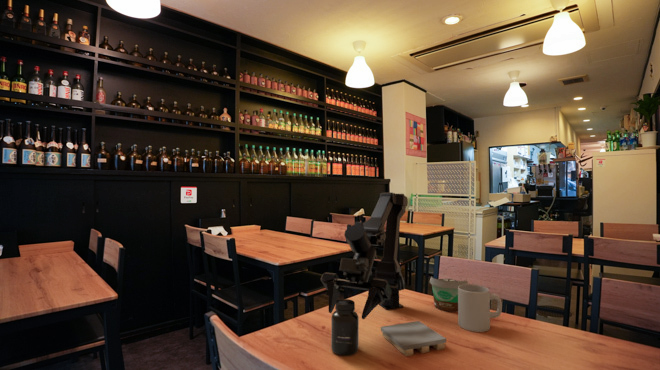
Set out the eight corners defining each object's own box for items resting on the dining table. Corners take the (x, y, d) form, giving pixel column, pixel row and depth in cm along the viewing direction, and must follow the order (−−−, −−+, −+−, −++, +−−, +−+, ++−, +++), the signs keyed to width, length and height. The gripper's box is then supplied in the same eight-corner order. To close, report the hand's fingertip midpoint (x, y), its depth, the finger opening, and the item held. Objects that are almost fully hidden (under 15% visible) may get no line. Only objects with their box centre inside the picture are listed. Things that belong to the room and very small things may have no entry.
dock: (380, 336, 91) (380, 326, 91) (418, 329, 95) (418, 320, 95) (404, 356, 80) (404, 346, 80) (446, 348, 84) (446, 338, 84)
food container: (428, 310, 110) (427, 280, 110) (430, 304, 115) (429, 275, 115) (468, 315, 105) (468, 283, 105) (468, 309, 111) (468, 278, 111)
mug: (463, 331, 93) (462, 292, 93) (454, 319, 102) (454, 283, 102) (508, 333, 92) (507, 293, 92) (495, 321, 101) (495, 284, 101)
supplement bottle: (339, 359, 79) (339, 308, 79) (326, 347, 85) (326, 300, 85) (364, 352, 82) (363, 303, 82) (349, 341, 88) (349, 295, 88)
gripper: (323, 243, 94) (302, 293, 84) (387, 248, 85) (372, 305, 75) (336, 265, 100) (318, 315, 90) (397, 272, 92) (384, 327, 82)
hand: (345, 315), depth 84 cm, fingers open, 9 cm apart
